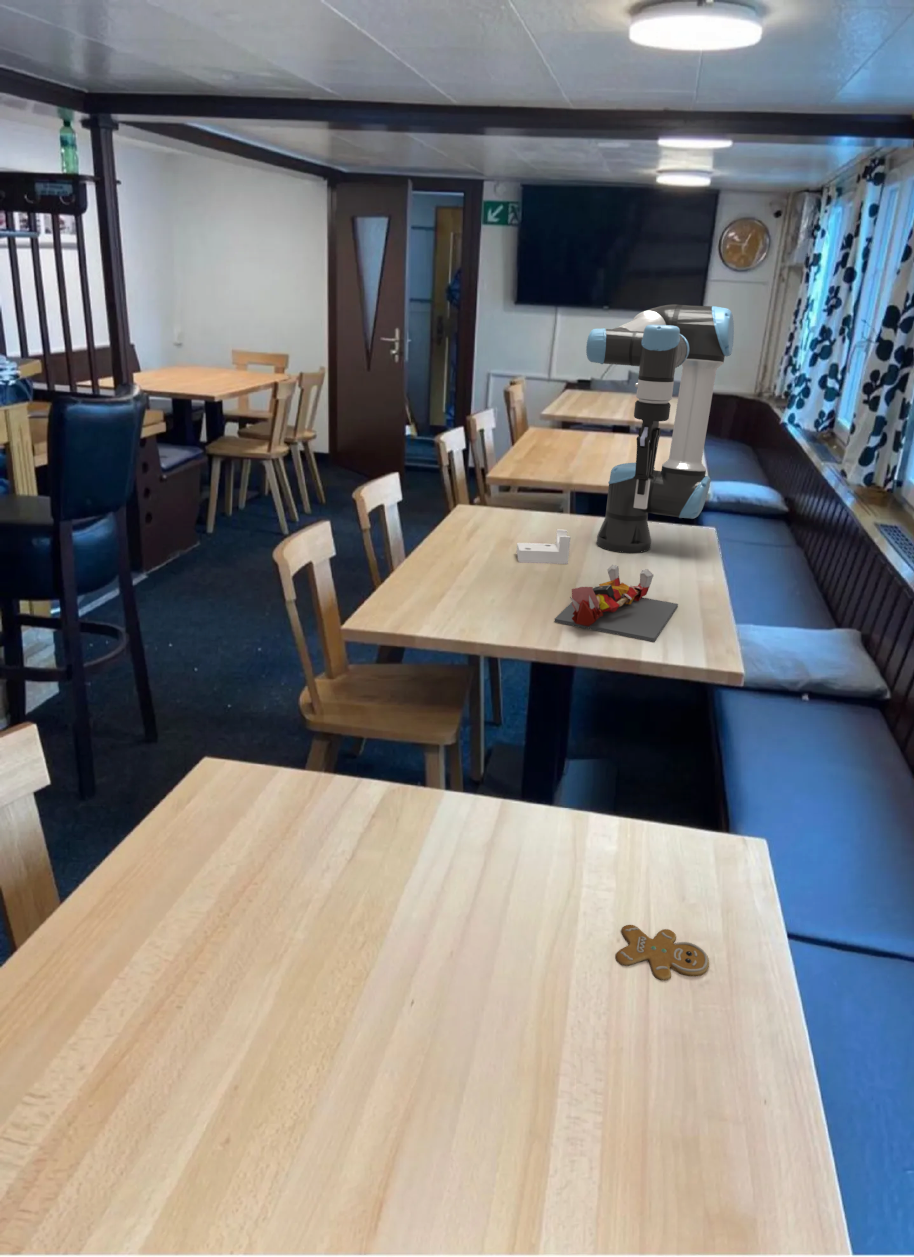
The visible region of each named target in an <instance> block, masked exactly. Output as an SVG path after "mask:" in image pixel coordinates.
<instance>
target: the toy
mask: <svg viewBox="0 0 914 1257" xmlns="http://www.w3.org/2000/svg"><path fill="white" fill-rule="evenodd" d="M619 567H620V566H619V565H616V564H611V565H610V566H609V567H608V568H607V569H606V570H607V574H608V578H609V581H606V582H603V583H600V584H598V585H597V586H594V587H593V586H579V587H574V588H572V589H571V596H569V599H570V600H571V602H572V606H573V607H574V609H575V611H574V613H573V615H574V616H573V617H572V620H573V621H574V622H575V623H576V624H579V625H583V626H588V627H589V626H590V625H591V624H593V623H594V622H595V621H596V620H597V619H598V618H599V617H601V616H603V613H602V612H605V611H608V612H615V611H616V610H617V609H618V607H620V606H622V605H623V604H631V603H632V601H633V600H635V601H639V600H640V598H641V597H643V598H644V597H645V596H647V594H648V592H649V590H650V587H651V584H652V580H653V579H654V578H653V577H654V573H653V572H652V571H650V570H649V569H648V568H645V569H641V571H640V574H639V583H638V585H636V586H635V585H634V586H633V585H630V586H629V585H628V584H626V583H624V582H621V579H620V570H619V569H620V568H619Z"/></svg>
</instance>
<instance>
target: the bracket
mask: <svg viewBox="0 0 914 1257" xmlns="http://www.w3.org/2000/svg"><path fill="white" fill-rule="evenodd" d="M555 533H556V537H555V543H545V542H544V543H543V542H542V543H539V542H538V543H537V542H534V543H533V542H516V556H517V561H518V563H527V564H529V563H530V564H558V565H559V564H560V565H562V564H563V565H564V564H565V565H568V564H569V556H570V546H571V544H570V543H571V536H570V535H568V534H567V533H568V530H567V529H556V532H555Z"/></svg>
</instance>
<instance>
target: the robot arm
mask: <svg viewBox="0 0 914 1257" xmlns="http://www.w3.org/2000/svg"><path fill="white" fill-rule="evenodd" d="M734 322H735V321H734V316H733V312H732V310H730V308H727V307H720V306H715V305H713V306H711V305H688V304H687V305H686V304H666V305H659V306H657V307H653V308H649V309H647V310H643V311H641V312H639V313H638V314H636V315H635V316H634V317H633V318H632V320H631V321H628V322H626V323H624V324H621V325H620V326H617V327H615V328H605V327H603V328H593V329H591V330H590V332H589V334H588V337H587V339H586V340H587V341H586V347H585V348H586V350H585V352H586V358H587V360H588V361H589V362H591V363H595V364H600V365H604V364H605V365H616V366H617V365H619V366H631V367H639V368H638V378H637V382H636V383H635V384H634V387H635V388H636V396H635V397H636V398H637V400H636V401H635V403H634V411H633V417H634V418H635V419H636V420H639V421H640V420H641V421H642V423H641V427H639V429H638V435H637V437H636V455H635V456H636V457H635V462H626V463H621V464H617V465H615V466H613V467H612V468H611V471H610V475H609V481H608V489H607V490H608V491H607V501H606V507H605V508H606V510H605V517H604V520H603V521H602V523H601V526H600V529H599V530H598V533H597V536H596V545H597V546H598V547H600V548H602V549H605V550H608V551H612V552H618V553H626V554H628V553H629V554H630V553H631V554H633V553H636V554H637V553H643V552H647V551H650V549H651V544H652V536H651V533H650V528H649V527H650V526H649V522H648V517H649V514H654V515H661V516H668V517H669V516H670V517H676V518H679V519H682V518H684V519H695V518H697V517H699V515H700V514H701V513H702V510H703V509H704V506H705V503H706V500H707V497H708V494H709V492H710V491H709V490H710V487H711V477H710V476H708V475H706V474H707V468H706V467H705V466H704V464H703V463H702V460H703V455H704V448H705V442H706V435H707V430H708V424H709V418H710V417H709V416H710V412H711V405H712V400H713V392H714V388H715V387H714V386H715V380H716V373H717V370H718V369H719V368H720V367H721V366H722V365H724V361H725V357H729V356H731V355H732V352H733V347H734V340H735V338H734V337H735V336H734V335H735V325H734V324H735V323H734ZM680 366H681V367H682V370H681V375H680V376H681V377H680V381H679V382H680V383H679V389H678V396H677V402H676V409H675V416H674V423H673V429H672V436H671V442H670V449H669V457H668V459H667V460H666V461H665V462H663V463H662V465H661V470H656V469H655V464H656V458H657V452H658V447H659V441H660V438H661V434H662V432H661V427H659V426H660V422H667V421H669V420H670V412H671V403H670V402H669V401H671V400H673V399H672V398H673V390H674V383H675V381H674V380H675V372H676V369H677V368H678V367H680Z"/></svg>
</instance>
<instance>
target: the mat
mask: <svg viewBox="0 0 914 1257" xmlns="http://www.w3.org/2000/svg"><path fill="white" fill-rule="evenodd" d="M678 605H679V604H678V603H676V602H670V601H664V600H659V599H654V598H647V597H644V596H643V597H641V598H640V600H639V601H635V600H633V601H632V603H631V604H623V605H622V606H620V607H618V609H617V610H616V611H615V612H608V611H605V612H602V613H603V616H601V617H599V618H598V619H597V620H596V621H595V622H594V623H593V624H591V625H590V626H589V627H588V626H583V625H579V624H576V623H575V622H574V621H573V620H572V617H573V616H574V615H573V613H574V611H575V609H574V607H573V606H572V601H571V602H570V603H569V604H568V605H567V606H566V607H565V608H564V609H563V610H562V611H561V612H560V613H559V614H558V615H557V616H556V617H555V618H554V623H557V624H561V625H567V626H572V627H577V628H581V629H587V630H592V631H596V632H597V631H598V632H603V633H606V634H607V633H609V634H612V635H618V636H622V637H627V638H632V639H633V638H634V639H637V640H638V639H639V640H642V641H643V640H644V641H646V642H653V643H655V641H656V640H657V638H658V637H659V635H661V632H662V630H664V628H665V627H666V625H668V622H669V620H670V619H671V618H672V616H673V614H674V612H676V611H677V609H678Z"/></svg>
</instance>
